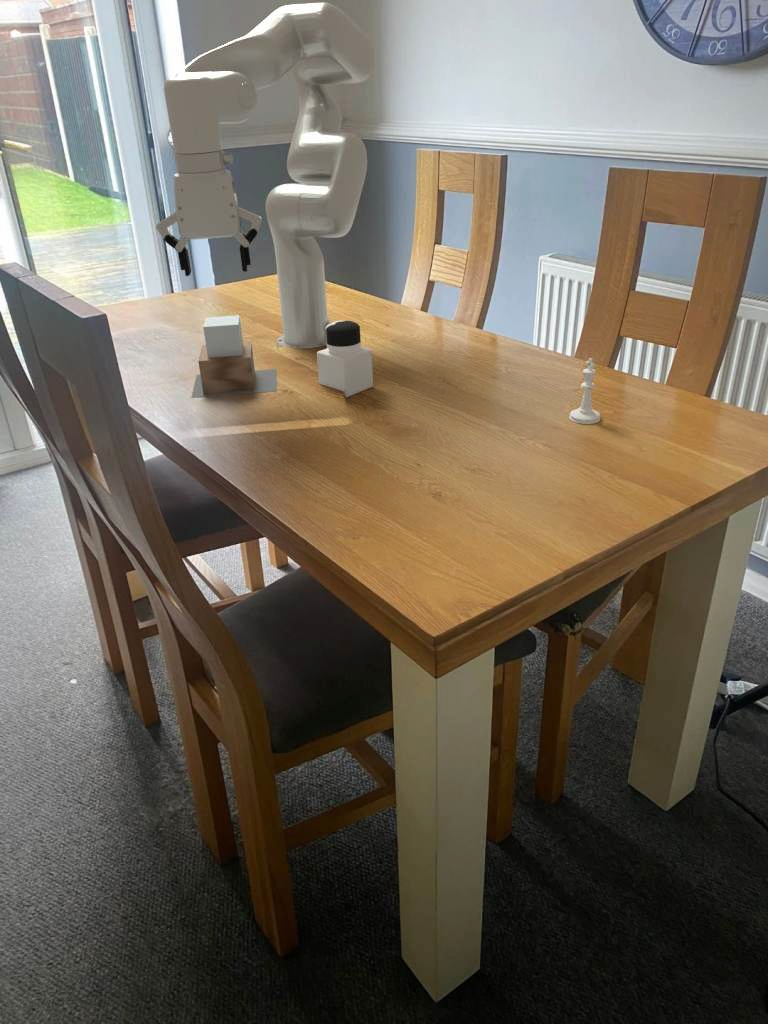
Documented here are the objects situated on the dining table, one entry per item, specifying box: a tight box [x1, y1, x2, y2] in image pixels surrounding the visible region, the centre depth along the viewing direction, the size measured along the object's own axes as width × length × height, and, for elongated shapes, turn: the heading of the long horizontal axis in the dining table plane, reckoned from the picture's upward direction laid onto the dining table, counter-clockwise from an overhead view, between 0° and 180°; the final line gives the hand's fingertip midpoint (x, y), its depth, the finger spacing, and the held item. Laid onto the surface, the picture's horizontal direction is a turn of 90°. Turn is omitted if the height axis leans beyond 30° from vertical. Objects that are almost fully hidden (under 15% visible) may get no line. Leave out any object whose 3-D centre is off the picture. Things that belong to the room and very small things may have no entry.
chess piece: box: [568, 357, 601, 425], centre depth 125 cm, size 5×5×10 cm
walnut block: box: [198, 341, 255, 394], centre depth 143 cm, size 9×9×6 cm
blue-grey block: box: [202, 314, 244, 358], centre depth 140 cm, size 6×6×6 cm
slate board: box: [190, 368, 278, 399], centre depth 145 cm, size 15×12×1 cm
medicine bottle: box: [316, 320, 374, 398], centre depth 140 cm, size 7×7×12 cm
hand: (216, 271), depth 135 cm, fingers open, 9 cm apart
